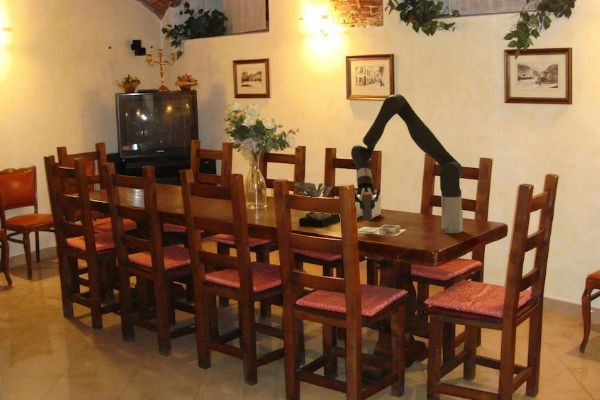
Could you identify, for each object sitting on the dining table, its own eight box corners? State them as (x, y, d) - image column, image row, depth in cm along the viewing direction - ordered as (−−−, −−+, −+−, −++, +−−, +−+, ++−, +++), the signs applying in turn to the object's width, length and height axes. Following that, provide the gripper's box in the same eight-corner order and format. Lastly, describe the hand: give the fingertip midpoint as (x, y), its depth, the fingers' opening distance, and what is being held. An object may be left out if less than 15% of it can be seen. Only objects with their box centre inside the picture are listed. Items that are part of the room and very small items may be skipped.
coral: (318, 229, 371) (317, 186, 367) (284, 226, 382) (283, 184, 378) (343, 220, 391) (342, 179, 388) (311, 217, 402) (309, 178, 399)
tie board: (406, 232, 357) (406, 224, 356) (396, 238, 345) (396, 230, 344) (363, 229, 367) (363, 222, 366) (352, 235, 354) (352, 227, 354)
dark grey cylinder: (373, 218, 358) (372, 191, 356) (369, 220, 355) (369, 193, 352) (364, 218, 360) (364, 191, 358) (361, 220, 357) (360, 192, 354)
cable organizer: (364, 213, 408) (363, 192, 406) (382, 214, 403) (381, 193, 401) (353, 218, 395) (352, 197, 393) (371, 219, 390) (371, 198, 388)
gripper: (350, 175, 361) (353, 204, 351) (379, 174, 362) (383, 203, 352) (349, 184, 367) (352, 213, 358) (378, 183, 368) (382, 212, 358)
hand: (367, 208), depth 355 cm, fingers closed on dark grey cylinder, 4 cm apart
